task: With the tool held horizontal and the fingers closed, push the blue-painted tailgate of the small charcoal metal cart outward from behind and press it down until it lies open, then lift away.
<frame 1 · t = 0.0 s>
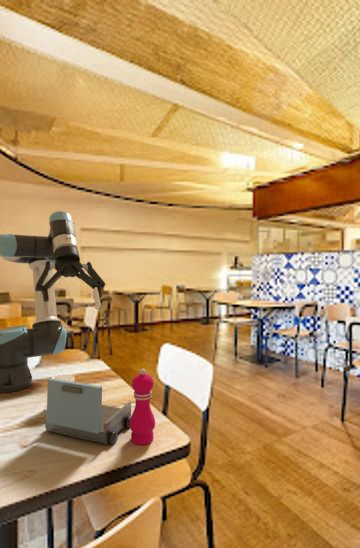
hand: (75, 309, 90), 36 cm above the table, tool tilted 35°, fingers open, 13 cm apart
cart bed: (90, 428, 93), on the table
pepper mill: (142, 439, 87), on the table
tailgate: (72, 405, 85), point 10 cm above the table, hinge at -3.0°
white cup: (62, 408, 106), on the table
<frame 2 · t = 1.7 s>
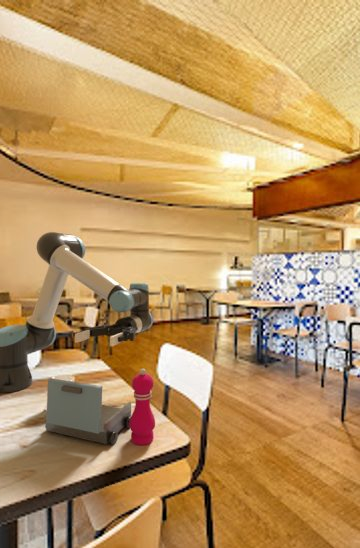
hand: (93, 339, 93), 26 cm above the table, tool horizontal, fingers open, 12 cm apart
nothing on the table moved.
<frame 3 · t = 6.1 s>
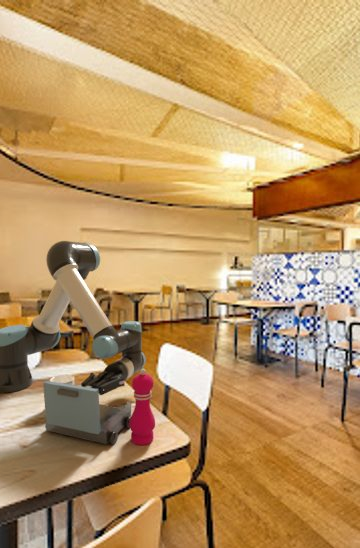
hand: (75, 399, 85), 12 cm above the table, tool horizontal, fingers closed
tailgate: (70, 407, 84), point 10 cm above the table, hinge at 5.7°, touching gripper
everything else where it was.
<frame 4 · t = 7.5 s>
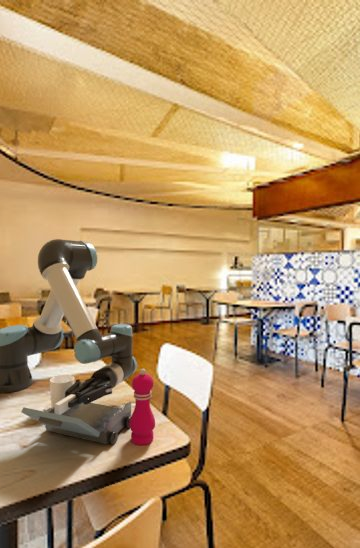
hand: (56, 409, 79), 12 cm above the table, tool horizontal, fingers closed
tailgate: (60, 424, 80), point 7 cm above the table, hinge at 48.4°, touching gripper
everything else where it was.
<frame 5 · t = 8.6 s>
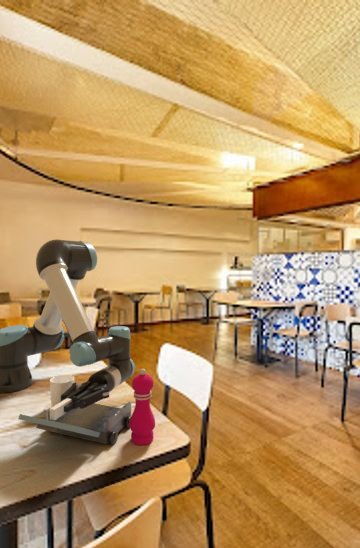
hand: (52, 414, 77), 12 cm above the table, tool horizontal, fingers closed
tailgate: (59, 428, 80), point 7 cm above the table, hinge at 56.2°, touching gripper
everything else where it was.
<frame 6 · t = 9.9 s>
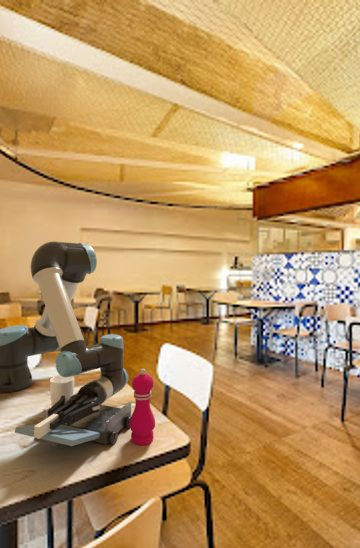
hand: (36, 432, 72), 10 cm above the table, tool horizontal, fingers closed
tailgate: (58, 434, 79), point 5 cm above the table, hinge at 70.2°
everything else where it was.
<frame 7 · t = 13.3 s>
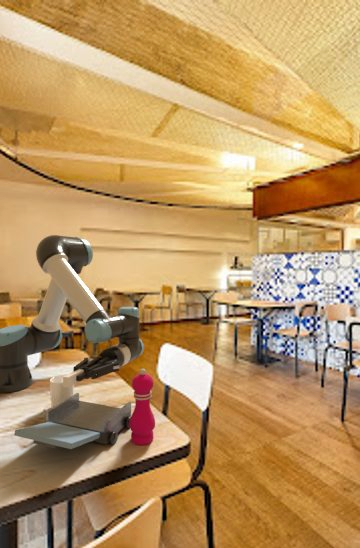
hand: (65, 382, 81), 18 cm above the table, tool horizontal, fingers closed
tailgate: (58, 436, 79), point 5 cm above the table, hinge at 73.3°
everything else where it was.
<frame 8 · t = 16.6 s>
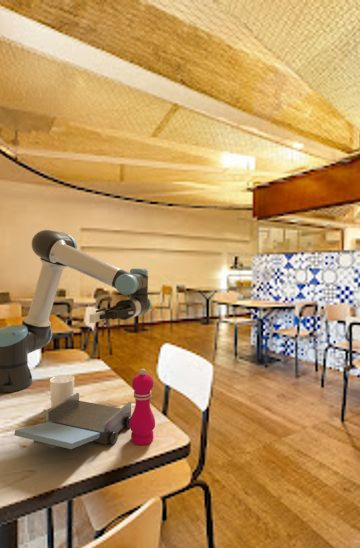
hand: (91, 318, 98), 32 cm above the table, tool horizontal, fingers closed
nothing on the table moved.
at the end: tailgate at +73° (first picture: -3°); pepper mill moved 0.2 cm from its start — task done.
